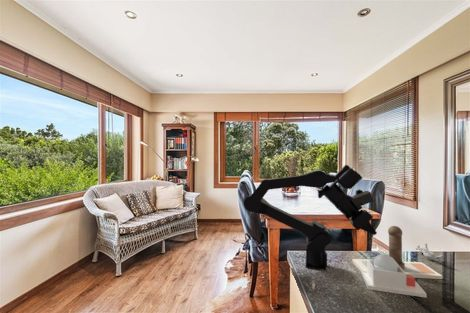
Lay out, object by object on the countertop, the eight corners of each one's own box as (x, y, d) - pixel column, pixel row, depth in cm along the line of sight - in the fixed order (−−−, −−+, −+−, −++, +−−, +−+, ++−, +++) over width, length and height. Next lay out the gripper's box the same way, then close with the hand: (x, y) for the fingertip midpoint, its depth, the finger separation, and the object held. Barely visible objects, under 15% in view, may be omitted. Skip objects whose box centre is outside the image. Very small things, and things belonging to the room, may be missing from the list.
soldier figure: (431, 257, 94) (458, 259, 83) (424, 266, 93) (450, 269, 82) (414, 241, 96) (437, 241, 85) (407, 250, 95) (430, 252, 84)
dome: (376, 278, 69) (376, 257, 69) (371, 269, 75) (371, 250, 75) (400, 281, 67) (400, 260, 67) (393, 272, 73) (393, 252, 73)
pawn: (391, 268, 78) (390, 227, 79) (383, 262, 83) (383, 223, 84) (408, 269, 78) (407, 228, 78) (399, 262, 83) (399, 224, 83)
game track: (363, 274, 77) (363, 271, 77) (352, 261, 87) (352, 258, 87) (442, 279, 74) (442, 275, 74) (421, 265, 84) (421, 262, 84)
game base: (368, 289, 68) (367, 269, 68) (361, 274, 77) (361, 257, 77) (426, 297, 64) (426, 276, 64) (413, 281, 73) (412, 263, 73)
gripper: (364, 185, 72) (407, 225, 69) (351, 180, 90) (385, 211, 87) (336, 210, 74) (377, 249, 71) (329, 200, 92) (361, 231, 89)
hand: (375, 233), depth 79 cm, fingers closed
